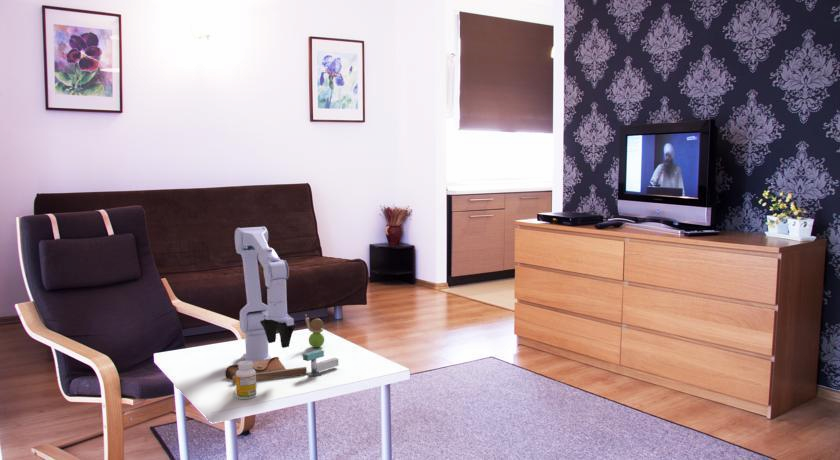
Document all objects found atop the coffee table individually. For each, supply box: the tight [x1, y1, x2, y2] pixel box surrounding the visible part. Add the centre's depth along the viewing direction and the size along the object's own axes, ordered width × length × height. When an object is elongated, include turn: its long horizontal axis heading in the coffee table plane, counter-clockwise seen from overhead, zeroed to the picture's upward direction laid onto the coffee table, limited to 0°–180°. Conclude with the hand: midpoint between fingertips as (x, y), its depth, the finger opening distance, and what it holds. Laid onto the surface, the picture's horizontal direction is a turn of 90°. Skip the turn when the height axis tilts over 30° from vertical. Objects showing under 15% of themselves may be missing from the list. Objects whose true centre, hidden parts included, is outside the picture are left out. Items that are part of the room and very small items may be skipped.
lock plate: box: [306, 371, 322, 378], centre depth 205 cm, size 4×4×1 cm
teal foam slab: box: [302, 349, 339, 373], centre depth 207 cm, size 12×2×6 cm, turn 139°
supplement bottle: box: [235, 360, 257, 400], centre depth 186 cm, size 5×5×10 cm
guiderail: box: [232, 366, 308, 385], centre depth 202 cm, size 1×22×2 cm, turn 113°
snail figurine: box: [304, 314, 325, 349], centre depth 235 cm, size 5×6×12 cm
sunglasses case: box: [224, 356, 286, 382], centre depth 207 cm, size 18×7×7 cm
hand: (278, 344), depth 203 cm, fingers open, 7 cm apart
